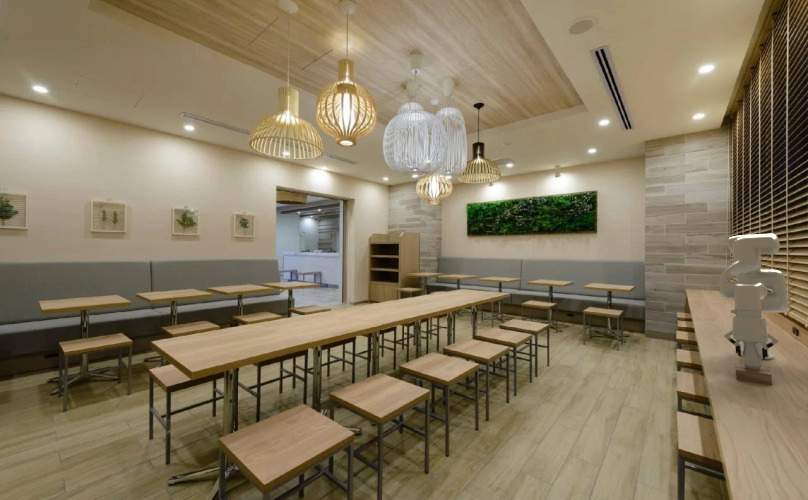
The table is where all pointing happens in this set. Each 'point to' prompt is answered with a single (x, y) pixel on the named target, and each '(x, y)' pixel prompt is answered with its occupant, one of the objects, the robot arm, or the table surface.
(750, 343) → the salt shaker
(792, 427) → the table surface
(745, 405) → the table surface
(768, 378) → the block
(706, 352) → the table surface
